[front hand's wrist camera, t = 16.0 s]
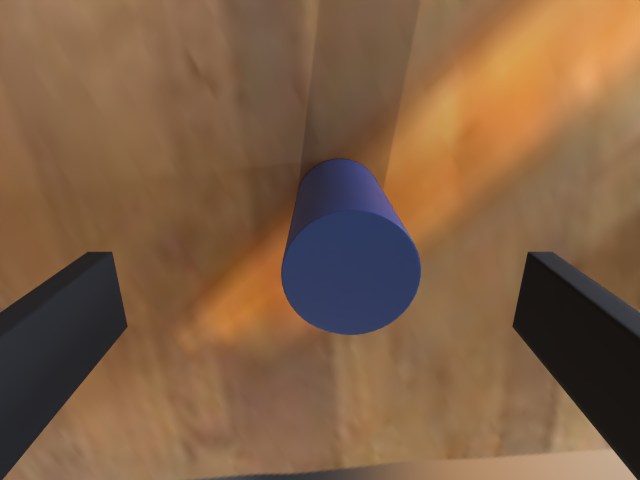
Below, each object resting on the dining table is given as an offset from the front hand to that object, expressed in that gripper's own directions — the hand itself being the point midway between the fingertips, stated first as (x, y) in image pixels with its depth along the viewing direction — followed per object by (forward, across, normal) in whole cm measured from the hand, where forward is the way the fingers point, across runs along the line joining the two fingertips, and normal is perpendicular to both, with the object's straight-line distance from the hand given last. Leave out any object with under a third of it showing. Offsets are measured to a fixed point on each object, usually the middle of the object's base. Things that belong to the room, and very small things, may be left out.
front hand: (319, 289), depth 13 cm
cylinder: (+17, +1, -2) cm, 17 cm away
